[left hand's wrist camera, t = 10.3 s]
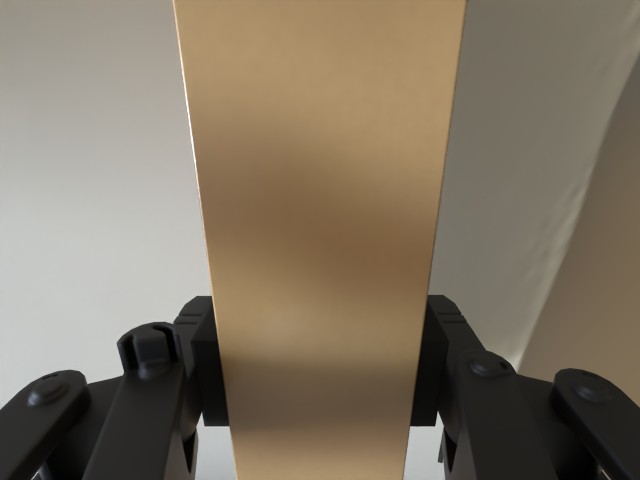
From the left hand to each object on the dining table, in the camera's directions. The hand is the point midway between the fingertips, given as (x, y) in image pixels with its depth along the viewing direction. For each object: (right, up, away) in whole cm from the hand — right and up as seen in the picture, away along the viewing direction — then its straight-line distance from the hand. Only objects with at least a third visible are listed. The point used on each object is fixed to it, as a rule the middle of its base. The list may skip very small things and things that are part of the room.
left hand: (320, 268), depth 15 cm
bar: (0, +21, -8) cm, 22 cm away
